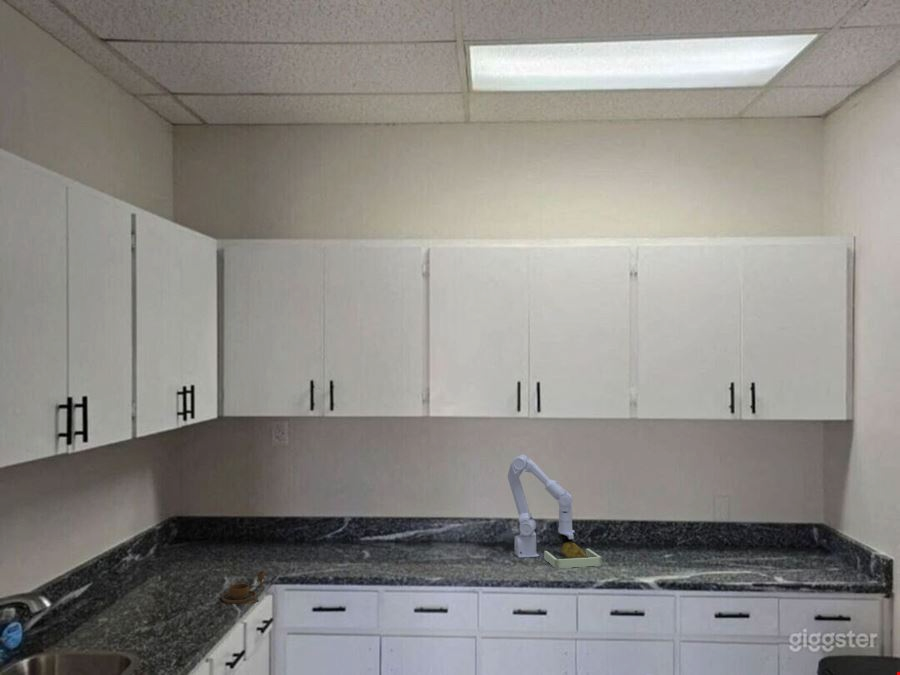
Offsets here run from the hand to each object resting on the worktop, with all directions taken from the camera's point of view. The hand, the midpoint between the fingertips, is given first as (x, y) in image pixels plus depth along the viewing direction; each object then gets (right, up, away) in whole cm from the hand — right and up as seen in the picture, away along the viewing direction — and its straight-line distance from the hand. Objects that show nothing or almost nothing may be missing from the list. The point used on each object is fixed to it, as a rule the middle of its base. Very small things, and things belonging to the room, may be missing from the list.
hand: (565, 552), depth 305 cm
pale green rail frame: (+1, -2, -8) cm, 8 cm away
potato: (+2, -2, -8) cm, 9 cm away
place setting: (-125, -2, -49) cm, 134 cm away
